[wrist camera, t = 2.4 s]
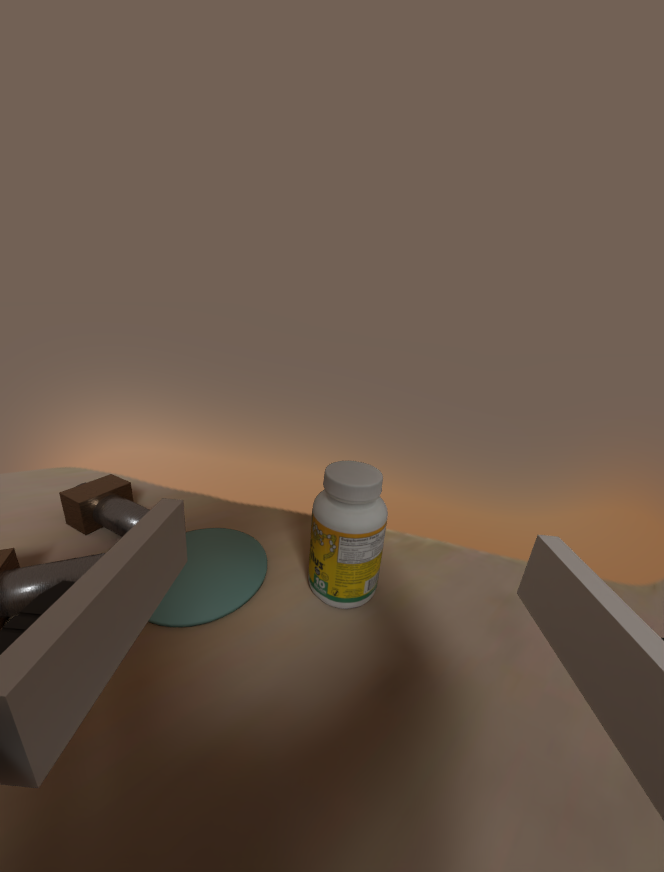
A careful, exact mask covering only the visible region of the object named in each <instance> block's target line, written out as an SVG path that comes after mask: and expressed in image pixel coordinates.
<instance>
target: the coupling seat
mask: <svg viewBox="0 0 664 872" xmlns="http://www.w3.org/2000/svg"><path fill="white" fill-rule="evenodd" d="M186 547H187V562H186V564H185V566H184V567H183V569H182V570H181V572H180V573H179V575H178V576H177V578H176V579H175V581H174V582H173V584H172V585H171V587H170V588H169V590H168V591H167V593H166V594H165V596H164V598H163V599H162V601H161V602H160V604H159V605H158V607H157V608H156V610H155V611H154V613H153V614H152V616H151V617H150V619H149V620H148V621H149V622H151V623H154V624H157V625H161V626H167V627H189V626H195V625H201V624H205V623H208V622H212V621H214V620H217V619H219V618H222V617H224V616H226V615H228V614H230V613H232V612H234V611H235V610H237V609H238V608H240V607H241V606H243V605H244V604H245V603H246V602H247V601H249V600H250V599H251V598H252V597H253V596H254V595H255V593H256V592H257V591H258V589H259V588H260V586H261V585H262V583H263V581H264V578H265V576H266V571H267V557H266V553H265V551H264V549H263V547H262V546H261V544H260V543H259V542H258V541H257V540H255V539H254V538H253V537H251V536H250V535H248V534H245V533H243V532H240V531H237V530H232V529H225V528H207V529H199V530H194V531H190V532H186Z"/></svg>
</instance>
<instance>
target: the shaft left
mask: <svg viewBox="0 0 664 872" xmlns="http://www.w3.org/2000/svg"><path fill="white" fill-rule="evenodd" d="M104 554H105V553H103V554H97V555H91V556H85V557H80V558H74V559H68V560H62V561H57V562H51V563H45V564H39V565H34V566H28V567H22V568H20V566H19V563H18V560H17V556H16V553H15V550H14V548H10V549H4V550H0V629H1V627H2V625H3V623H4V622H5V620H6V618H7V617H10V616H14V615H19V612H20V611H21V610H22V609H23V608H25V607H26V606H27V605H28V604H29V603H30V602H31V601H32V600H34V599H35V598H36V597H37V596H38V595H39V594H41V593H43V592H44V591H46V590H48V589H49V588H51V587H53V586H55V585H56V584H58V583H60V582H61V581H73V582H76V581H77V580H79V579H80V578H81V577H82V576H83V575H84V574H85V573H86V572H87V571H88V570H89V569H90V568H91V567H92V566H93V565H94V564H95V563H96V562H97V561H98V560H99V559H100V558H101V557H102V556H103V555H104Z"/></svg>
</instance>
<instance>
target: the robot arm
mask: <svg viewBox="0 0 664 872" xmlns="http://www.w3.org/2000/svg"><path fill="white" fill-rule="evenodd" d="M186 562H187V547H186V532H185V518H184V503H183V500H176V499H166V498H162V499H161V500H160V501H159V502H158V503H157V504H156V505H155V506H154V507H153V508H152V509H151V510H150V511H149V512H148V513H147V514H146V515H145V516H144V517H143V518H142V519H141V520H140V521H139V522H137V523H136V524H135V525H134V526H133V527H132V528H131V529H130V530H129V531H128V532H127V533H126V534H125V535H124V536H123V537H122V538H121V539H120V540H119V541H118V542H117V543H116V544H115V545H114V546H113V547H112V548H111V549H110V550H109V551H107V552H106V553H105V554H104V555H103V556H102V557H101V558H100V559H99V560H98V561H97V562H96V563H95V564H94V565H93V566H92V567H91V568H90V569H89V570H88V571H87V572H86V573H85V574H84V575H83V576H82V577H81V578H80V579H79V580H77V581H76V582H73V581H61V582H60V583H58V584H56V585H55V586H53V587H51V588H49V589H48V590H46V591H44V592H43V593H41V594H39V595H38V596H37V597H36V598H35V599H34V600H32V601H31V602H30V603H29V604H28V605H27V606H26V607H25V608H23V609H22V610H21V611H20V612H19V615H18V616H15V617H13V618H12V619H11V620H10V621H9V622H8V623H7V624H6V625H4V626H3V627H2V630H1V631H0V784H1V785H10V786H21V787H31V788H39V787H40V785H41V784H42V782H43V781H44V779H45V778H46V776H47V774H48V773H49V771H50V770H51V768H52V767H53V765H54V764H55V762H56V761H57V759H58V758H59V756H60V755H61V753H62V752H63V750H64V749H65V747H66V746H67V744H68V742H69V741H70V739H71V738H72V736H73V735H74V733H75V732H76V730H77V729H78V727H79V726H80V724H81V723H82V721H83V720H84V718H85V717H86V715H87V713H88V712H89V710H90V709H91V707H92V706H93V704H94V703H95V701H96V700H97V698H98V697H99V695H100V694H101V692H102V691H103V689H104V688H105V686H106V684H107V683H108V681H109V680H110V678H111V677H112V675H113V674H114V672H115V671H116V669H117V668H118V666H119V665H120V663H121V662H122V660H123V659H124V657H125V656H126V654H127V652H128V651H129V649H130V648H131V646H132V645H133V643H134V642H135V640H136V639H137V637H138V636H139V634H140V633H141V631H142V630H143V628H144V627H145V625H146V623H147V622H148V620H149V619H150V617H151V616H152V614H153V613H154V611H155V610H156V608H157V607H158V605H159V604H160V602H161V601H162V599H163V598H164V596H165V594H166V593H167V591H168V590H169V588H170V587H171V585H172V584H173V582H174V581H175V579H176V578H177V576H178V575H179V573H180V572H181V570H182V569H183V567H184V566H185V564H186ZM517 594H518V596H519V597H520V599H521V600H522V602H523V603H524V605H525V607H526V608H527V610H528V611H529V613H530V614H531V616H532V617H533V619H534V621H535V622H536V624H537V625H538V627H539V628H540V630H541V631H542V633H543V634H544V636H545V638H546V639H547V641H548V642H549V644H550V645H551V647H552V648H553V650H554V652H555V653H556V655H557V656H558V658H559V659H560V661H561V662H562V664H563V665H564V667H565V669H566V670H567V672H568V673H569V675H570V676H571V678H572V679H573V681H574V682H575V684H576V686H577V687H578V689H579V690H580V692H581V693H582V695H583V696H584V698H585V700H586V701H587V703H588V704H589V706H590V707H591V709H592V710H593V712H594V713H595V715H596V717H597V718H598V720H599V721H600V723H601V724H602V726H603V727H604V729H605V730H606V732H607V734H608V735H609V737H610V738H611V740H612V741H613V743H614V744H615V746H616V748H617V749H618V751H619V752H620V754H621V755H622V757H623V758H624V760H625V761H626V763H627V765H628V766H629V768H630V769H631V771H632V772H633V774H634V775H635V777H636V779H637V780H638V782H639V783H640V785H641V786H642V788H643V789H644V791H645V792H646V794H647V796H648V797H649V799H650V800H651V802H652V803H653V805H654V806H655V808H656V809H657V811H658V813H659V814H660V816H661V817H662V819H663V820H664V638H660V637H659V636H658V635H657V634H656V633H655V632H654V631H653V630H652V629H651V628H650V627H649V626H648V625H647V624H646V623H645V622H644V621H643V620H642V619H641V618H640V617H639V616H638V615H637V614H636V613H635V612H634V611H633V610H632V609H631V608H630V607H629V606H628V605H627V604H626V603H625V602H624V601H623V600H622V599H621V598H620V597H619V596H618V595H617V594H616V593H615V592H614V591H613V590H612V589H611V588H610V587H609V586H608V585H607V584H606V583H605V582H604V581H603V580H602V579H601V578H600V577H599V576H598V575H597V574H596V573H595V572H594V571H593V570H591V569H590V568H589V567H588V566H587V565H586V564H585V563H584V562H583V561H582V560H581V559H580V558H579V557H578V556H577V555H576V554H575V553H574V552H573V551H572V550H571V549H570V548H569V547H568V546H567V545H566V544H565V543H564V542H563V541H562V540H561V539H560V538H559V537H555V536H545V535H538V536H537V538H536V541H535V544H534V547H533V549H532V552H531V555H530V558H529V561H528V563H527V566H526V569H525V572H524V574H523V577H522V580H521V583H520V586H519V588H518V591H517Z"/></svg>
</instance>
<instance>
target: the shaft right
mask: <svg viewBox="0 0 664 872" xmlns="http://www.w3.org/2000/svg"><path fill="white" fill-rule="evenodd" d="M59 494H60V498H61V503H62V507H63V511H64V515H65V520H66V524H68V525H69V526H71V527H73V528H75V529H76V530H78V531H80V532H81V533H83V534H85V535H87V534H89V533H91V532H93V531H95V530H97V529H100V528H102V527H105V528H107V529H109V530H111V531H113V532H115V533H116V534H118V535H120V536H122V537H123V536H124V535H125V534H126V533H127V532H128V531H129V530H130V529H131V528H132V527H133V526H134V525H135V524H136V523H137V522H139V521H140V520H141V519H142V518H143V517H144V516H145V515H146V514H147V513H148V512H149V511H150V510H149V509H147V508H145V507H143V506H141V505H138V504H136V503H134V502H133V495H132V488H131V482H128V481H126V480H124V479H121V478H119V477H117V476H114V475H112V474H110V475H108V476H105V477H102V478H99V479H96V480H94V481H91V482H88V483H82V484H80V485H78V486H76V487H74V488H71V489H68V490H65V491H63V492H60V493H59Z"/></svg>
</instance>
